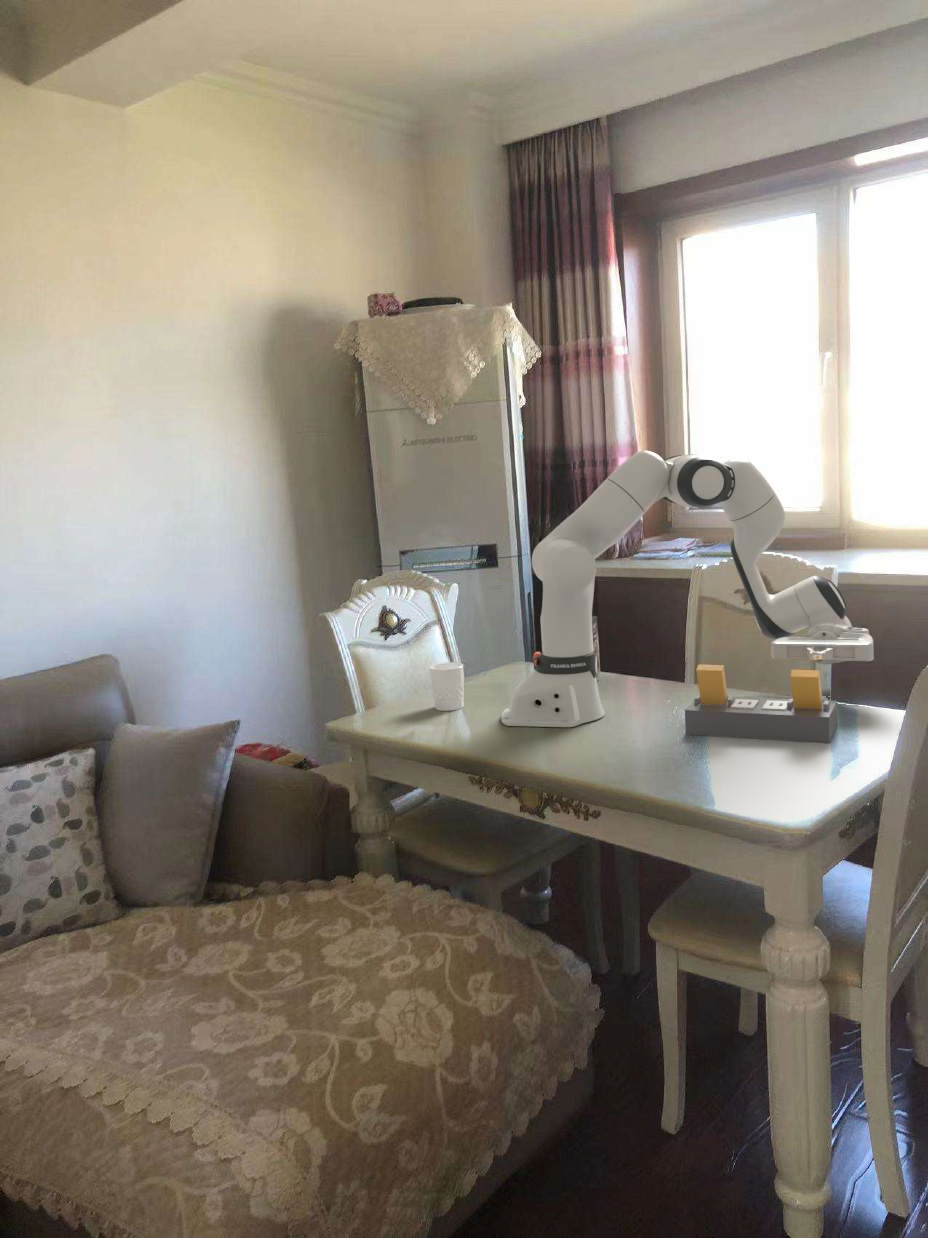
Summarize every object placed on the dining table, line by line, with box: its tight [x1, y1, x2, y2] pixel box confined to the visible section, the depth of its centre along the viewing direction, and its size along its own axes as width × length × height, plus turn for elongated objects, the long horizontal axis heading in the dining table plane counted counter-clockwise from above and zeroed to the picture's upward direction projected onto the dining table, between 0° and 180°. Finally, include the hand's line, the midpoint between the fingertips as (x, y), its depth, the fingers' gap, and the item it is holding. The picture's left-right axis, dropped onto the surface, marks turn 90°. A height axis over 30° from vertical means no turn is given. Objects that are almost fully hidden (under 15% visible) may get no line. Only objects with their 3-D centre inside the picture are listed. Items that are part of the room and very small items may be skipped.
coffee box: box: [592, 615, 601, 682], centre depth 245 cm, size 9×6×16 cm
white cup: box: [429, 661, 465, 712], centre depth 232 cm, size 8×8×10 cm
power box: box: [684, 694, 838, 744], centre depth 196 cm, size 27×12×6 cm, turn 63°
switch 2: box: [789, 669, 823, 709], centre depth 189 cm, size 5×2×8 cm, turn 63°
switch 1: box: [695, 664, 729, 704], centre depth 198 cm, size 5×2×8 cm, turn 63°
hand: (817, 657), depth 201 cm, fingers closed
